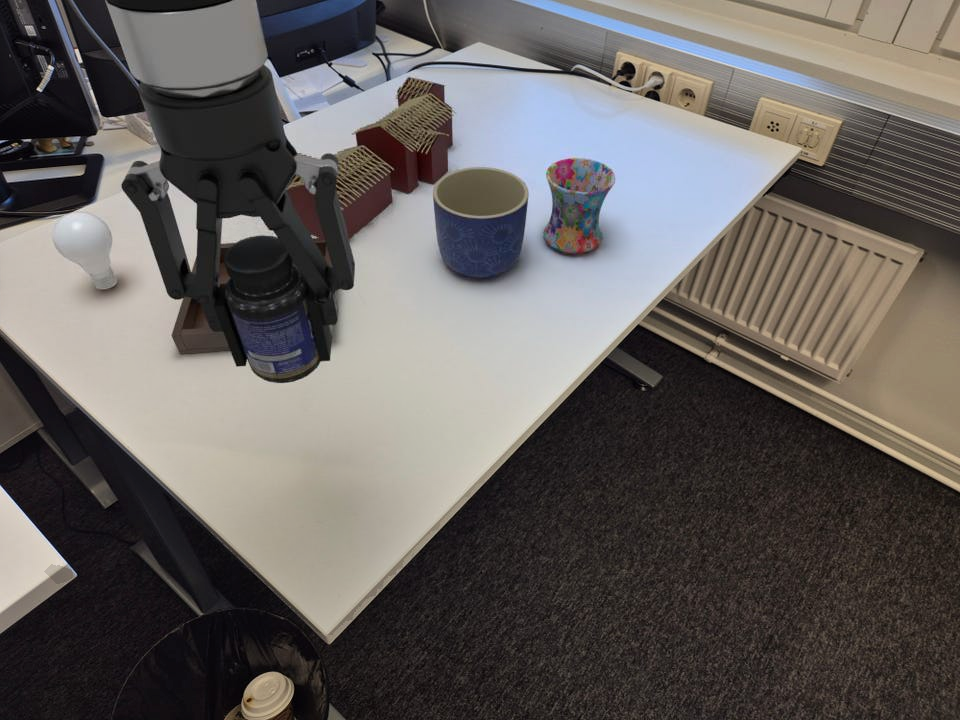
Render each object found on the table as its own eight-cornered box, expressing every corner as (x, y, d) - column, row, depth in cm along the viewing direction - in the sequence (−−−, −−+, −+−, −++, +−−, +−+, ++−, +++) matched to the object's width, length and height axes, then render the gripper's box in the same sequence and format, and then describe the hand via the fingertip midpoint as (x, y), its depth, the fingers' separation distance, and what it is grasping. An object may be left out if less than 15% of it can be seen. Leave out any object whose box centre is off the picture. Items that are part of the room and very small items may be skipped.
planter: (506, 227, 96) (509, 160, 88) (537, 276, 88) (543, 207, 80) (426, 242, 93) (421, 174, 86) (450, 294, 85) (448, 224, 77)
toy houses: (357, 250, 92) (347, 187, 84) (247, 211, 98) (229, 150, 91) (501, 124, 119) (503, 69, 112) (408, 101, 126) (404, 47, 119)
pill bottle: (335, 367, 54) (313, 261, 46) (265, 397, 51) (228, 290, 44) (306, 325, 57) (281, 220, 50) (239, 351, 55) (201, 245, 47)
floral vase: (575, 267, 90) (585, 201, 82) (527, 239, 94) (532, 173, 87) (627, 233, 95) (641, 168, 88) (579, 208, 100) (588, 144, 92)
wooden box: (179, 354, 77) (171, 335, 75) (206, 263, 89) (199, 244, 87) (331, 343, 79) (327, 324, 76) (337, 255, 91) (334, 236, 89)
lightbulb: (73, 288, 85) (32, 217, 77) (118, 266, 89) (84, 196, 81) (97, 309, 83) (57, 237, 75) (143, 285, 86) (109, 214, 78)
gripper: (370, 43, 41) (399, 315, 57) (54, 50, 39) (177, 328, 56) (368, 93, 35) (400, 377, 52) (3, 104, 34) (156, 393, 51)
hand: (285, 351), depth 54 cm, fingers closed on pill bottle, 6 cm apart
